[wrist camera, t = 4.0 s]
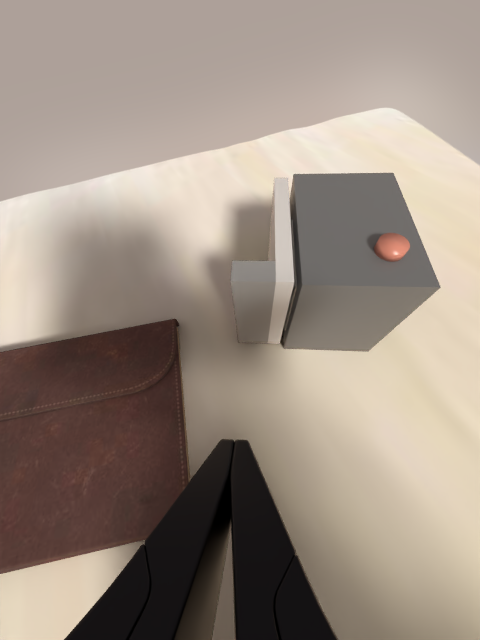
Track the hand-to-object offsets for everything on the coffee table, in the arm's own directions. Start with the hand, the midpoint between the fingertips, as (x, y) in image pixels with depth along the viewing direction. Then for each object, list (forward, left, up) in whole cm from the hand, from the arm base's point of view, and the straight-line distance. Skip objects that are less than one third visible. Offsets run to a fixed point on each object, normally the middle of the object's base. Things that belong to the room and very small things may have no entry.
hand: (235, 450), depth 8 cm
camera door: (+9, +9, -11) cm, 17 cm away
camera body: (+13, +6, -11) cm, 18 cm away
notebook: (-11, +10, -12) cm, 19 cm away
